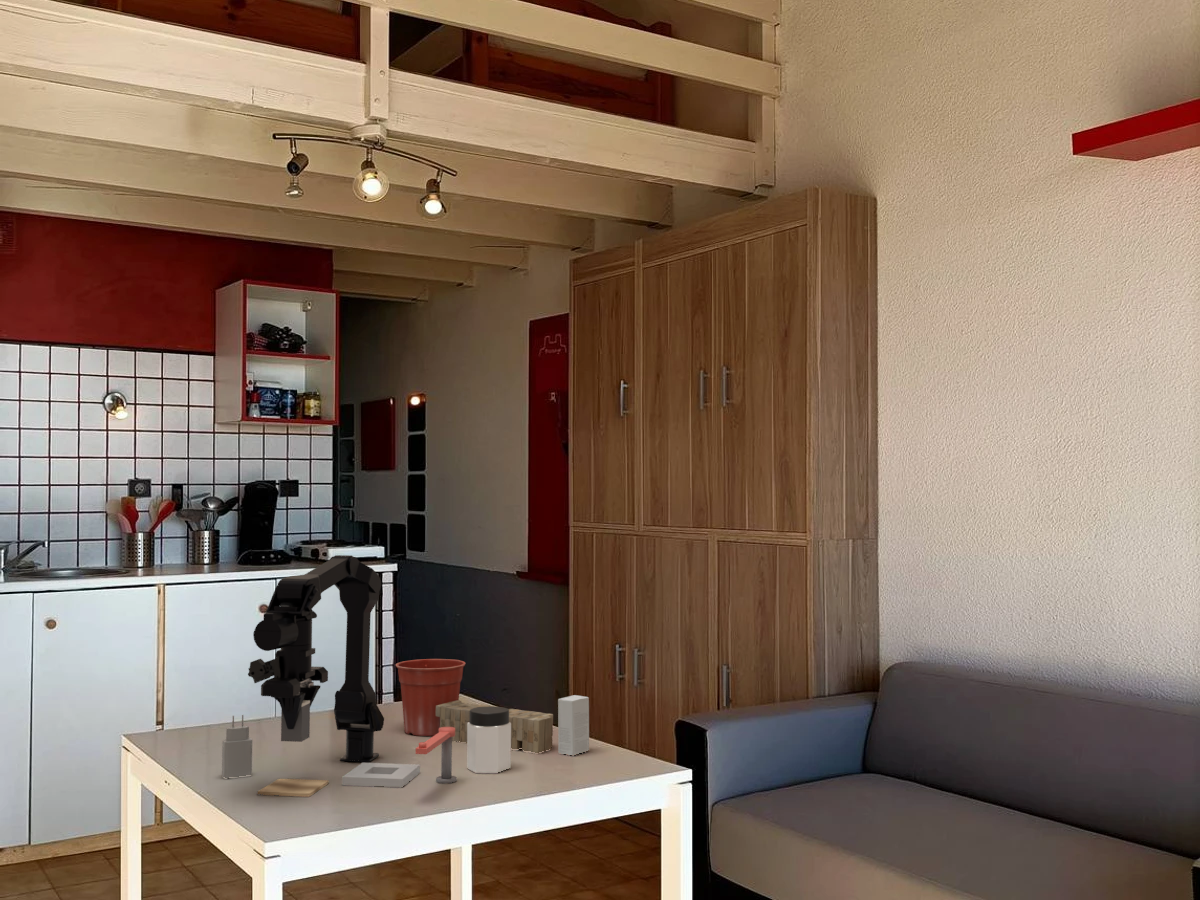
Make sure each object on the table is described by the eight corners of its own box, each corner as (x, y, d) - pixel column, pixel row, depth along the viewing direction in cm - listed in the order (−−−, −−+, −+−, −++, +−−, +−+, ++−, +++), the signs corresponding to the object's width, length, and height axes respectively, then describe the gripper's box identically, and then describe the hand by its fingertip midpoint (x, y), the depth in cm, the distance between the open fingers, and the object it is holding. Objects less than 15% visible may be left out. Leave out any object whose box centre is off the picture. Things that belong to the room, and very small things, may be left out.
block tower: (557, 753, 251) (456, 733, 267) (559, 715, 251) (457, 697, 267) (536, 759, 245) (434, 739, 260) (538, 720, 245) (435, 702, 261)
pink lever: (441, 733, 223) (441, 724, 223) (457, 734, 223) (457, 725, 223) (412, 753, 205) (412, 743, 205) (429, 754, 205) (429, 744, 205)
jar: (512, 764, 235) (512, 706, 236) (508, 774, 227) (509, 713, 228) (469, 764, 235) (469, 706, 236) (464, 773, 227) (464, 713, 228)
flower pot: (380, 731, 268) (381, 663, 269) (434, 722, 280) (435, 656, 281) (424, 741, 257) (425, 670, 258) (479, 731, 269) (479, 663, 270)
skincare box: (574, 749, 250) (574, 694, 250) (589, 752, 247) (589, 696, 248) (557, 754, 245) (557, 698, 246) (572, 757, 242) (573, 700, 243)
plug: (289, 736, 217) (289, 699, 217) (309, 737, 217) (309, 700, 217) (281, 741, 213) (281, 703, 213) (301, 741, 213) (302, 704, 213)
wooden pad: (279, 781, 220) (279, 778, 220) (328, 783, 219) (328, 780, 219) (257, 794, 210) (257, 791, 210) (309, 796, 209) (309, 793, 209)
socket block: (362, 770, 229) (363, 727, 230) (463, 774, 227) (464, 730, 227) (341, 785, 217) (342, 740, 218) (448, 789, 215) (449, 743, 215)
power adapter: (220, 776, 224) (222, 715, 224) (248, 773, 227) (249, 712, 227) (224, 779, 221) (225, 717, 222) (252, 776, 224) (253, 715, 225)
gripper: (275, 637, 226) (274, 716, 225) (234, 649, 207) (232, 735, 207) (329, 638, 224) (328, 717, 224) (292, 651, 206) (291, 737, 205)
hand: (295, 726), depth 215 cm, fingers closed on plug, 4 cm apart
